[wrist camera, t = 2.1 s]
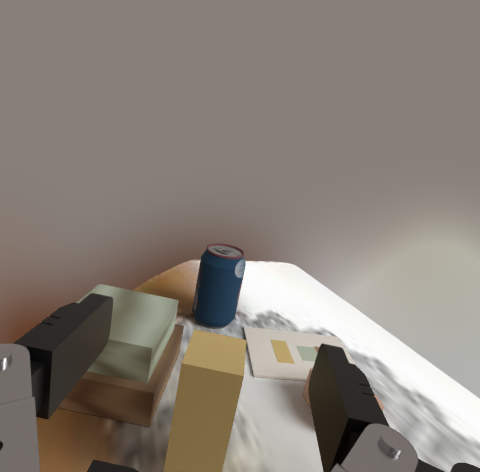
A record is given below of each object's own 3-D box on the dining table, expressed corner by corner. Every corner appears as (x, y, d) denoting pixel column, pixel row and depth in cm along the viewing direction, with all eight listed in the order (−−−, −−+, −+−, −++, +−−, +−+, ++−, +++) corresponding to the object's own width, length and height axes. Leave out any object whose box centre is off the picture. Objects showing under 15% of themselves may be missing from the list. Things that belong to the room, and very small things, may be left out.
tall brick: (221, 449, 30) (246, 340, 27) (215, 499, 26) (243, 376, 23) (175, 439, 31) (194, 329, 27) (161, 487, 26) (181, 363, 23)
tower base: (179, 352, 43) (188, 298, 41) (149, 427, 31) (159, 356, 29) (91, 333, 43) (95, 279, 41) (28, 401, 31) (30, 330, 29)
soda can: (242, 324, 53) (257, 255, 50) (209, 336, 48) (223, 260, 45) (215, 304, 57) (227, 240, 54) (182, 313, 52) (193, 243, 49)
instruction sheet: (336, 338, 54) (337, 336, 54) (369, 386, 44) (369, 384, 43) (243, 328, 51) (243, 326, 51) (253, 376, 41) (254, 374, 41)
